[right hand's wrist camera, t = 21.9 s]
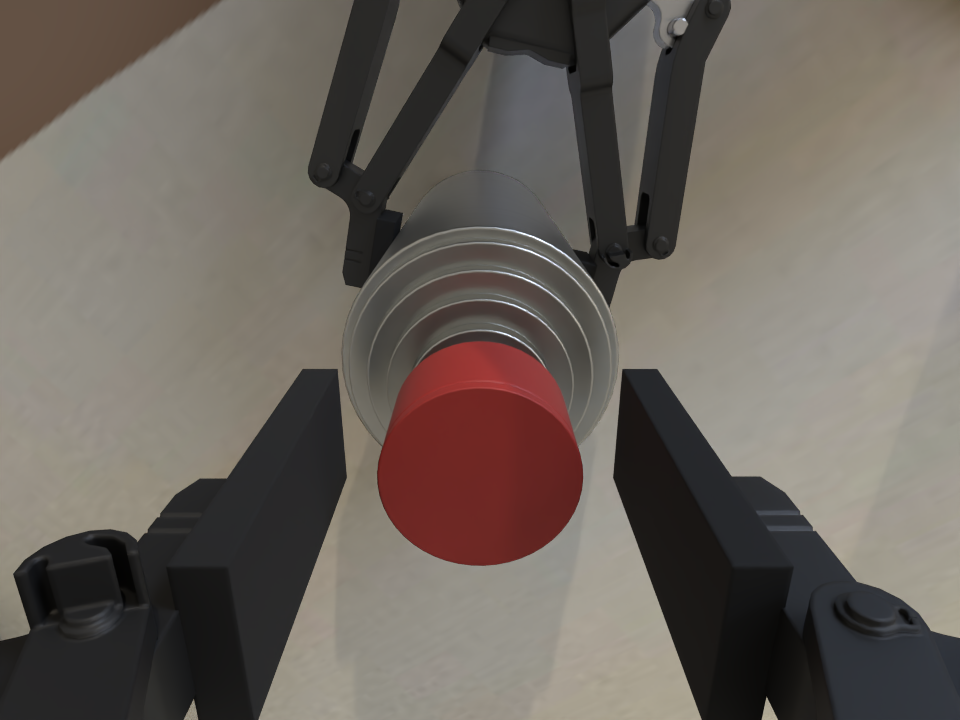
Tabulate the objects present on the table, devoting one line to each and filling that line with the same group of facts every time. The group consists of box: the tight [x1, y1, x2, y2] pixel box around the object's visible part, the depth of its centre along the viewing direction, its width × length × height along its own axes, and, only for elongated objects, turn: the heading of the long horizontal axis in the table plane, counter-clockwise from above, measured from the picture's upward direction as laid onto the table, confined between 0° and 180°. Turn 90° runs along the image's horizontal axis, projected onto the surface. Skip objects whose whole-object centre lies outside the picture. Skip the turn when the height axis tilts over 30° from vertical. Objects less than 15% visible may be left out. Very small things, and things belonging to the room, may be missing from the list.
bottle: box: [342, 170, 619, 447], centre depth 23 cm, size 8×8×22 cm
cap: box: [377, 341, 583, 566], centre depth 13 cm, size 4×4×3 cm
